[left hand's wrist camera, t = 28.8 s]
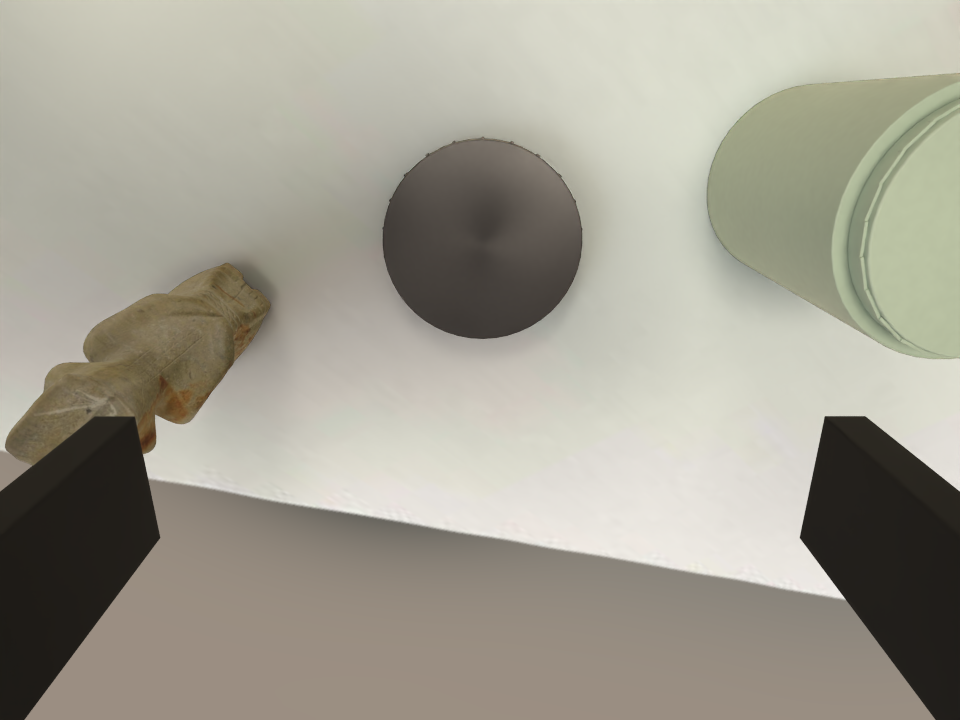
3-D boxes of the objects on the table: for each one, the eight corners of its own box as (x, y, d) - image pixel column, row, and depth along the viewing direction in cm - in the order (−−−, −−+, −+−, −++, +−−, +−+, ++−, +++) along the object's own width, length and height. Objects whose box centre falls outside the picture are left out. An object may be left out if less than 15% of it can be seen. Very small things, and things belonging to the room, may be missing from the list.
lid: (586, 317, 39) (591, 326, 37) (404, 341, 39) (400, 350, 38) (570, 123, 35) (574, 124, 33) (368, 153, 35) (362, 155, 34)
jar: (777, 48, 34) (994, 3, 19) (933, 139, 35) (1239, 159, 21) (671, 226, 37) (792, 300, 23) (819, 302, 38) (1017, 416, 24)
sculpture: (143, 312, 38) (-51, 429, 24) (228, 235, 37) (73, 312, 23) (216, 384, 40) (74, 531, 26) (301, 312, 38) (198, 429, 24)
